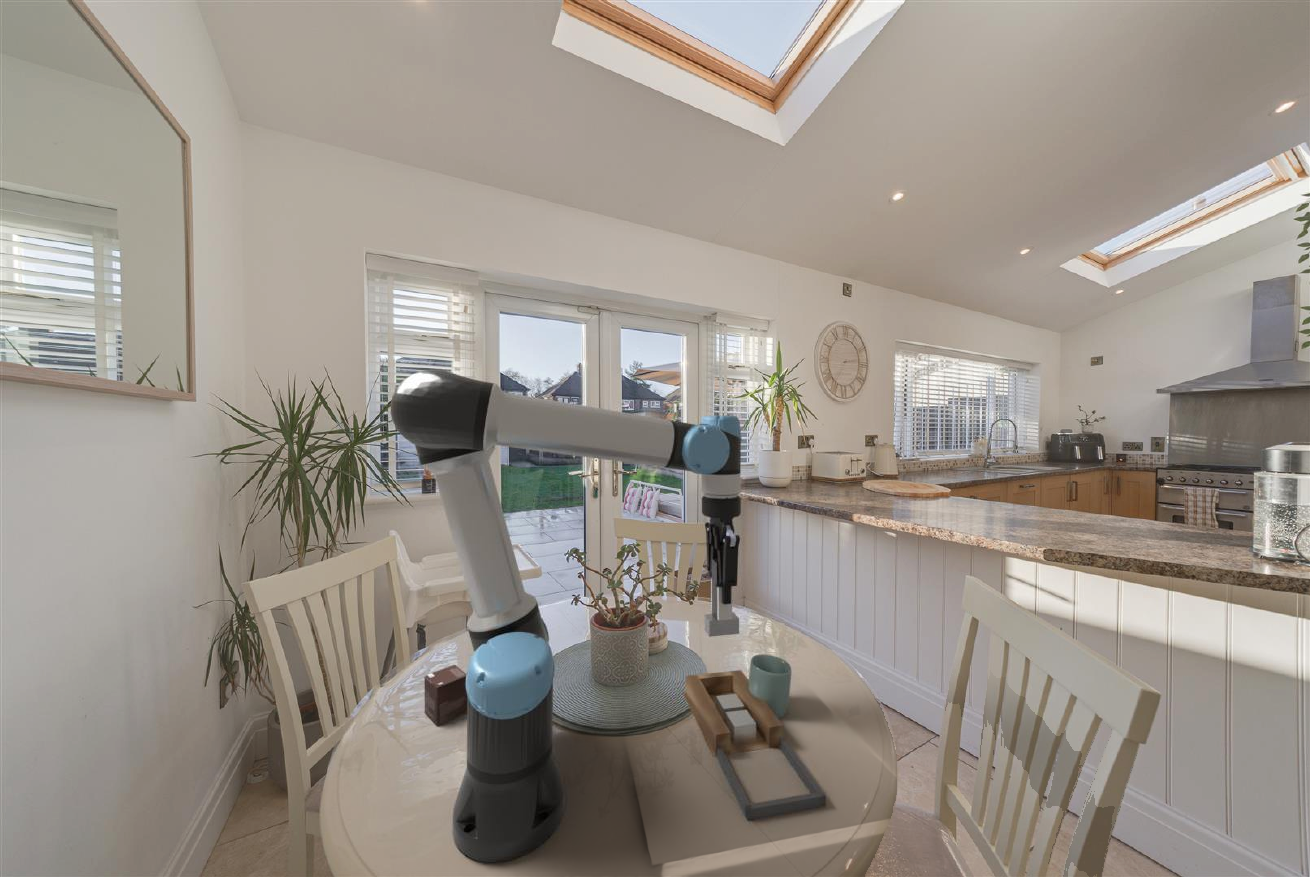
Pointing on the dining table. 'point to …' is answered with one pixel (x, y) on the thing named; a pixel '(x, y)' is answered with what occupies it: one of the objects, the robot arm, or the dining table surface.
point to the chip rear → (728, 704)
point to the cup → (770, 682)
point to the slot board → (711, 723)
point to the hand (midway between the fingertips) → (721, 614)
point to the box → (445, 694)
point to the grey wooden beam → (711, 621)
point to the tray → (778, 805)
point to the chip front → (741, 726)
